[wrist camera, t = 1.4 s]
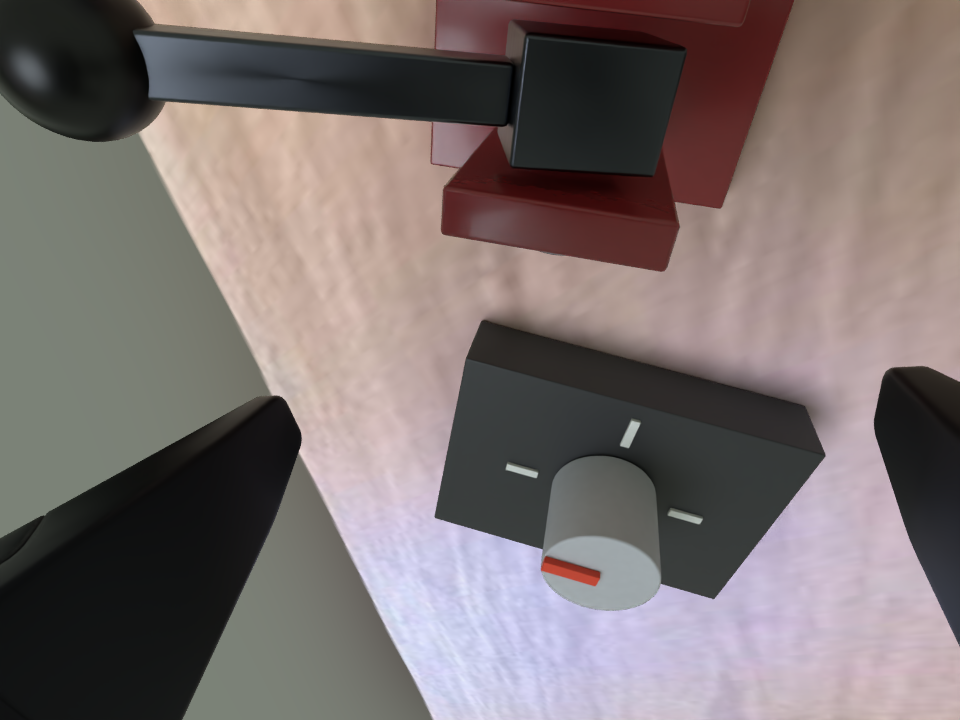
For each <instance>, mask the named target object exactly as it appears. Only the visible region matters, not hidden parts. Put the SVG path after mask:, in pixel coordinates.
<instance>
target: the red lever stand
mask: <svg viewBox="0 0 960 720" xmlns="http://www.w3.org/2000/svg"><path fill="white" fill-rule="evenodd" d="M793 3H794V0H436V24H435V49H440V50H451V51H462V52H473V53H484V54H495V55H505V54H506V44H507V34H508V24H509V22H510V20H513V19H517V20H527V21H537V22H548V23H558V24H568V25H578V26H589V27H599V28H609V29H619V30H630V31H640V32H645V33H648V34H650V35H653V36H656V37H659V38H662V39H664V40H667V41H670V42H673V43H675V44H678V45H681V46H683V47H685V48H686V49H687V56H686V59H685V63H684V67H683V70H682V74H681V78H680V82H679V85H678V89H677V93H676V97H675V100H674V104H673V108H672V111H671V115H670V119H669V123H668V126H667V130H666V134H665V137H664V141H663V145H662V149H661V152H660V156H659V160H658V164H657V167H656V171H655V174H654V176H653V177H649V178H647V177H632V176H617V175H603V174H588V173H573V172H558V171H544V170H529V169H514V168H512V167H510V165H509V162H508V160H507V157H506V154H505V152H504V149H503V146H502V144H501V141H500V138H499V136H498V127H495V126H481V125H468V124H455V123H442V122H432V135H431V164H433V165H440V166H446V167H453V168H459V169H458V171H457V172H456V173H455V174H454V175H453V177H452V178H451V179H450V180H449V181H448V182H447V184H446V185H445V186H444V188H443V199H442V219H441V232H442V234H444V235H448V236H454V237H460V238H466V239H471V240H477V241H483V242H489V243H495V244H501V245H507V246H513V247H519V248H525V249H531V250H536V251H540V252H543V253H547V254H552V255H566V256H572V257H578V258H584V259H590V260H596V261H601V262H607V263H613V264H619V265H625V266H631V267H637V268H643V269H649V270H655V271H660V272H662V271H665V270H666V268H667V266H668V263H669V260H670V257H671V253H672V250H673V247H674V244H675V241H676V237H677V234H678V231H679V228H680V225H679V220H678V215H677V211H676V207H675V202H680V203H686V204H693V205H699V206H706V207H712V208H721V207H722V206H723V203H724V200H725V197H726V194H727V191H728V189H729V186H730V183H731V180H732V177H733V174H734V171H735V169H736V166H737V163H738V160H739V157H740V154H741V151H742V149H743V146H744V143H745V140H746V137H747V134H748V131H749V129H750V126H751V123H752V120H753V117H754V114H755V111H756V109H757V106H758V103H759V100H760V97H761V94H762V91H763V89H764V86H765V83H766V80H767V77H768V74H769V71H770V69H771V66H772V63H773V60H774V57H775V54H776V51H777V49H778V46H779V43H780V40H781V37H782V34H783V31H784V29H785V26H786V23H787V20H788V17H789V14H790V11H791V9H792V6H793Z"/></svg>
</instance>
